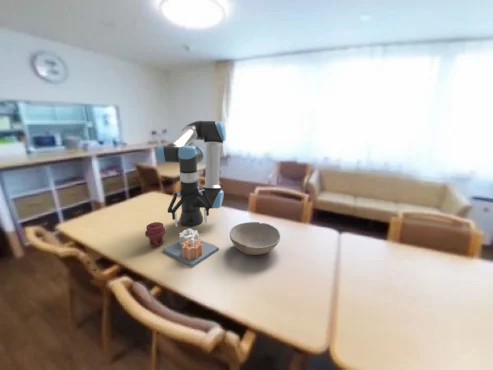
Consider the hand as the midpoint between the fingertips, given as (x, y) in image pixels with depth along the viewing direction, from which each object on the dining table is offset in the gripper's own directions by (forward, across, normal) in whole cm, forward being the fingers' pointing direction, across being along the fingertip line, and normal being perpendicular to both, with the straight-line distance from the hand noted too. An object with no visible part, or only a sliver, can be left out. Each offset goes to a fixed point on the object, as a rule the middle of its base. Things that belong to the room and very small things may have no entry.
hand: (191, 223), depth 112 cm
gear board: (+18, 0, +5) cm, 18 cm away
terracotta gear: (+16, 0, 0) cm, 16 cm away
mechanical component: (+18, -18, +16) cm, 30 cm away
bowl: (+18, +32, -3) cm, 36 cm away
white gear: (+16, -1, +10) cm, 19 cm away
